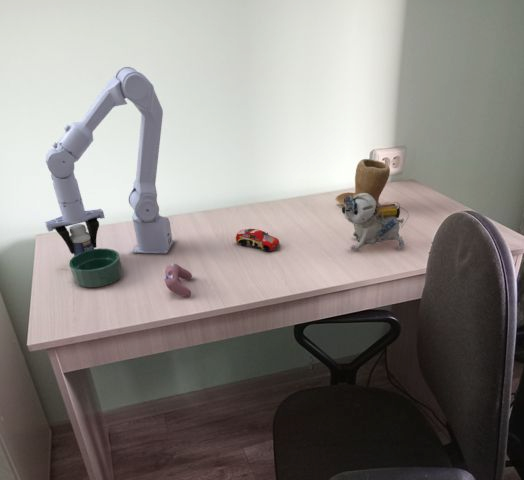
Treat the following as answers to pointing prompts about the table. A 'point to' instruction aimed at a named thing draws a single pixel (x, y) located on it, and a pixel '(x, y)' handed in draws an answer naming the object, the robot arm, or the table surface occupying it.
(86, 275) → the bowl
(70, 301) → the table surface
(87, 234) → the pill bottle
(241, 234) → the race car
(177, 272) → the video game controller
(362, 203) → the robotic toy
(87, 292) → the table surface
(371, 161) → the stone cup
